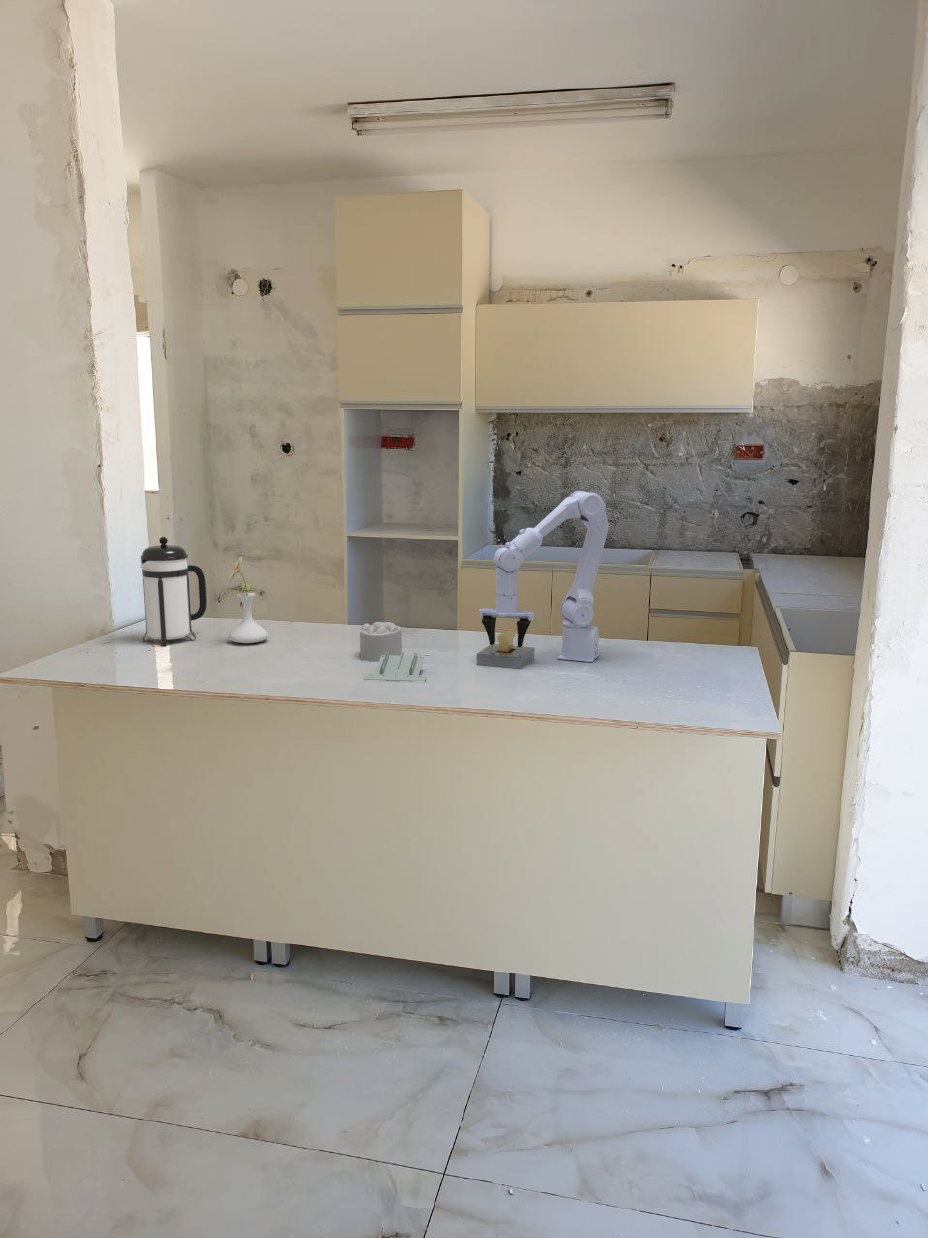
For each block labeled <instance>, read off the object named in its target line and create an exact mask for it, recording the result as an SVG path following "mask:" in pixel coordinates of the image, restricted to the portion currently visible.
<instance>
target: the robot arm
mask: <svg viewBox="0 0 928 1238" xmlns="http://www.w3.org/2000/svg"><path fill="white" fill-rule="evenodd" d="M606 506H607V504H606V503H605V501H604V500H603V498H602V497H601V496H600V495H599V494H598V493H596V492H587V491H584V490H576V491H573V492H572V493H571V494H570V495H569V496H567V497H566V498H564V499H563V500H562V501H561V502H560V503H559V504H558V505H557V506H556V507H555V508H553V510H552V511H551V512H550V513H549V514H548V515H546V516H545V518H543V519H542V520H541V521H540V522H539V523H538V524H537V525H535V526H534V527H527V528H520V529H521V530H518V532H519V534H518V535H516V537H515V538H513V539H512V540H511V541H510V542H509V541H507V542H506V543H505V546H504V547H500V548H498V549H497V550H496V551H495V553H494V556H493V557H492V562H493V565H494V566H495V608H480V609H478V616H479V618H481V623H482V625H483V627H484V629H485V631H486V634H487V637H488V641H489V645H493V644H496V643H495V642H496V625H497V624H496V621H497V618H498V619H499V618H500V619H512V620H517V621H516V627H517V646H518V647H524V646H523V644H524V642H525V641H524V639H525V638H526V637H525V636H526V634H527V631H528V628H529V626H530V624H531V622H532V621H534V620H535V612H534V611H528V610H522V609H521V610H520V609H518V605H519V604H518V603H519V602H518V601H519V599H518V598H519V597H518V595H519V594H518V592H519V591H518V589H519V588H518V587H519V586H518V585H519V575H518V574H519V573H518V571H519V570H518V569H520V567H521V566H522V562H523V561H524V560H525V559H527V558H528V557H529V556H530V555H531V554H532V553H534V551H536V550H537V549H539V547H541V546H542V545H543V538H544V537H545V536H547V535H548V534H549V533H551V532H552V531H554V530H555V529H556V528H557V527H558V526H560V525H561V524H562V523H563V522H566V520H569V519H570V520H571V519H580V521H581V522H582V524H584V526H585V528H586V533H585V537H584V541H583V543H582V544H583V545H582V550H581V552H580V556H579V560H578V564H577V568H576V571H575V575H574V580H573V584H572V586H571V588H570V589H569V590H568V591H567V594H566V596H565V598H564V600H562V602H561V604H560V607H559V613H560V616H561V617H562V618H563V622H562V636H561V637H562V641H561V647H562V648H561V654H559V655H558V656H557V660H565V661H577V662H587V663H593V662H594V661H595V660H596V659H597V658H598V657H599V641H600V635H599V634H600V633H599V632H600V631H599V627H597V626H593V625H591V623H592V622H593V620H594V616H595V612H594V603H595V599H594V595H593V591H594V590H593V589H594V587H595V586H594V585H595V582H596V578H597V575H598V574H597V573H598V572H599V571H598V570H599V567H600V562H601V558H602V555H603V550H604V547H605V543H606V541H607V540H606V539H607V537H608V533H609V526H610V525H609V520H608V517H607V513H606Z"/></svg>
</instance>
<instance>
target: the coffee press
mask: <svg viewBox="0 0 928 1238" xmlns="http://www.w3.org/2000/svg"><path fill="white" fill-rule="evenodd" d="M158 541H159V543H160V545H153V546H149V547H147V548H145V549H143V551H142V554H141V555H140V561H139V565H138V567H139V569H141V573H142V575H141V576H142V585H143V586H142V587H143V598H144V599H143V600H144V613H145V634H144V635H143V637H142V641H143V642H146V643H147V642H148V641H149V640H150V639H155V640H160V646H161V647H167V643H168V641H170V640H176V639H177V640H178V639H182V638H187V639H188V640H190V641H191V642H194V641H195V640H196V639H197V635H196V634H195V633H194V632H193V630H192V629H193V628H192V621H195V620H198V619H200V618H202V617H203V616H204V615H205V612H206V609H207V588H206V587H207V586H206V577H205V573H204V572H203V570H202V569H201V568H200V567H198V566H197V565H192V564H190V565H188V558H189V554H188V553H187V551H186V550H185V548H183V547H182V546H179V545H173V544H172V545H171V544H167V543H168V541H169V540H168V538H167V537H165V536H162V537H160V538H159V540H158ZM189 572H191V573H192V572H193V573H195V574H196V576H197V579H198V597H199V608H198V610H197V611H196V612H195V613H193V614H191V613H192V612H191V600H190V599H191V598H190V596H191V594H190V582H189V581H190V580H189ZM190 633H191V635H192V637H194V639H192V638H191V637H190V636H189V635H190ZM146 636H148V637H149V638H148V639H146V638H145V637H146Z"/></svg>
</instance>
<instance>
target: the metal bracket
mask: <svg viewBox="0 0 928 1238" xmlns="http://www.w3.org/2000/svg"><path fill="white" fill-rule="evenodd" d="M404 654H405V653H404V651H403V650H402V654H401V655H400V656H398V655H389V652H388V653H387V652H386V653H385V655H381V657H380V660H379V661H378V663H377V666H376V668H375V670H374V673H365V675H364V679H363V681H365V680H387V681H386V682H400V681H425V680H426V681H427V675H426V674H420V673H421V670H422V669H421V668H422V666H423V663H424V660H425V656H424V655H422V656H421V655H418V652H414V653H413V655H404ZM426 681H425V682H426Z"/></svg>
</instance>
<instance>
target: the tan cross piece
mask: <svg viewBox="0 0 928 1238" xmlns="http://www.w3.org/2000/svg"><path fill="white" fill-rule="evenodd" d="M514 638H516V632H515V631H512V630H504V631H503V632H502V633H500V634H499V635H497V637H496V639H497V643H498V645H499V653H511V652H513V646H514Z"/></svg>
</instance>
